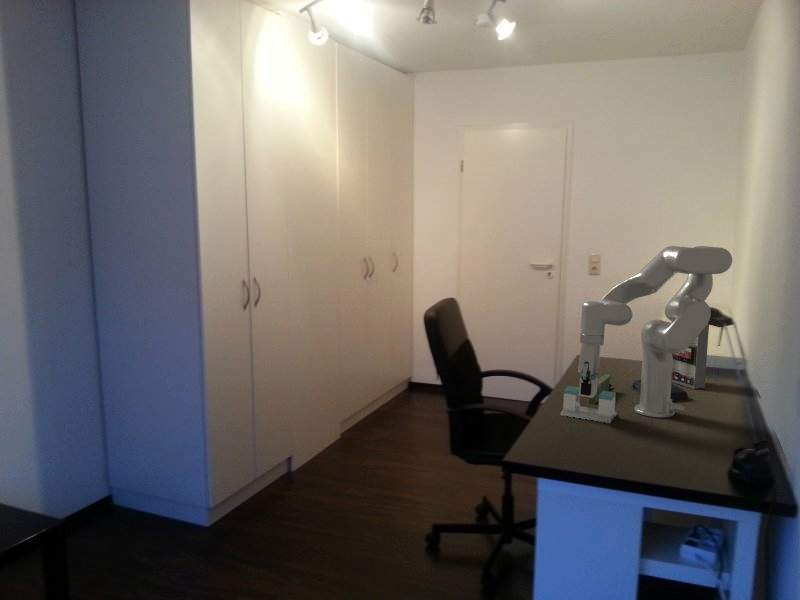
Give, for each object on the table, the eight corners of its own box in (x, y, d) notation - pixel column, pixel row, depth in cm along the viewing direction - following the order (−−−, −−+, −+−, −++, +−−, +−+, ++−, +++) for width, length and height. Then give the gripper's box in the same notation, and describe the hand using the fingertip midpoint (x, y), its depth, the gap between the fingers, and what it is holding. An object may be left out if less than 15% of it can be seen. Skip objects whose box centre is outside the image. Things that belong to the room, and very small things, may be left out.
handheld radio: (586, 403, 228) (605, 387, 249) (595, 405, 226) (613, 389, 247) (587, 385, 227) (606, 371, 248) (597, 387, 225) (615, 372, 246)
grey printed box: (665, 381, 259) (669, 320, 256) (677, 379, 261) (681, 319, 258) (693, 389, 246) (697, 325, 243) (705, 388, 249) (709, 324, 245)
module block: (596, 393, 214) (598, 373, 213) (592, 397, 209) (594, 376, 208) (583, 391, 216) (584, 371, 215) (578, 395, 211) (580, 374, 210)
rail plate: (616, 415, 214) (617, 391, 213) (609, 423, 205) (611, 398, 204) (568, 407, 222) (569, 384, 221) (560, 415, 213) (561, 391, 212)
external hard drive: (658, 387, 251) (659, 377, 250) (691, 401, 232) (692, 390, 232) (628, 389, 248) (629, 379, 247) (660, 403, 229) (660, 392, 229)
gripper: (586, 334, 219) (583, 385, 222) (573, 341, 204) (569, 396, 207) (609, 336, 216) (605, 388, 218) (597, 344, 201) (593, 400, 203)
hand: (588, 392), depth 212 cm, fingers closed on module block, 6 cm apart
